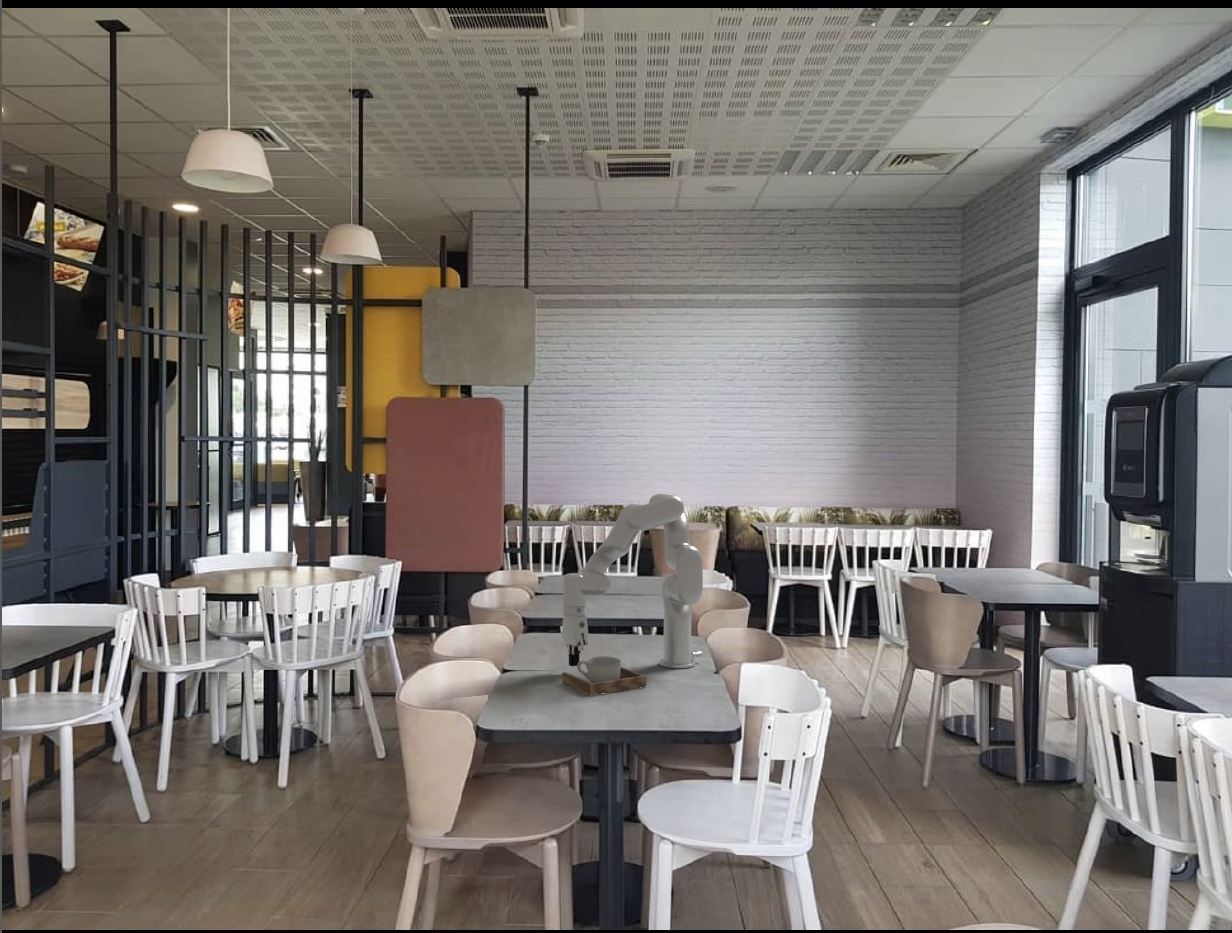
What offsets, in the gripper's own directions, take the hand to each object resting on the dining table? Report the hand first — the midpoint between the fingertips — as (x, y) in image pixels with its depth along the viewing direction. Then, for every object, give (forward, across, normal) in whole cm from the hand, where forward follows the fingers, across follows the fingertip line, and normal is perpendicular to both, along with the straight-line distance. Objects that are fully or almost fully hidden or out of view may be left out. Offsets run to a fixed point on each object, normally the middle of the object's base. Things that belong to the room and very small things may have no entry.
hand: (574, 665), depth 325 cm
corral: (+3, -18, 0) cm, 19 cm away
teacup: (+3, -17, +1) cm, 17 cm away
